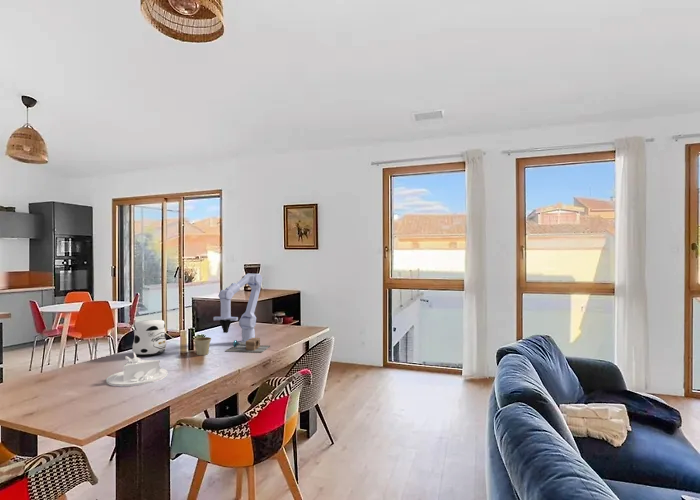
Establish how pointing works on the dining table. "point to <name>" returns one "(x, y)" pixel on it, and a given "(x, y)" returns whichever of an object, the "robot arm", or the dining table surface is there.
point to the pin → (239, 343)
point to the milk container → (149, 337)
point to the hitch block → (249, 347)
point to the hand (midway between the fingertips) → (225, 332)
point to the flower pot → (202, 345)
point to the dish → (137, 373)
